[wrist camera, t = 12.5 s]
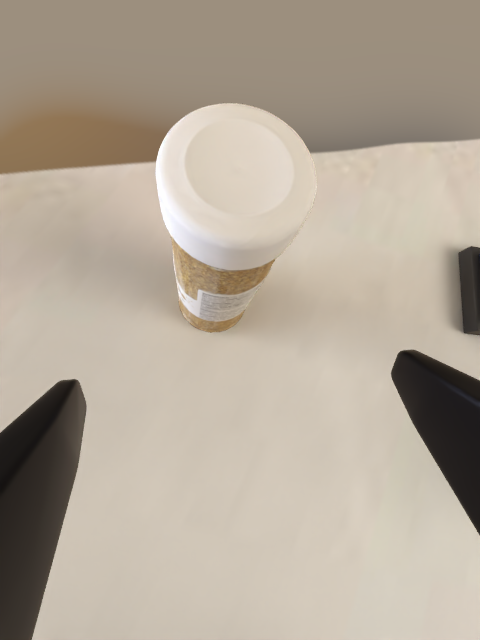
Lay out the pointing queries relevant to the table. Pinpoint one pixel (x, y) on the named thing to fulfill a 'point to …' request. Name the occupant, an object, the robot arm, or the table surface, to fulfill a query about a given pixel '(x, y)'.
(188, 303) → the sprinkles bottle
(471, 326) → the ink pad
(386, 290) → the table surface
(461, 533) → the table surface
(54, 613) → the table surface
